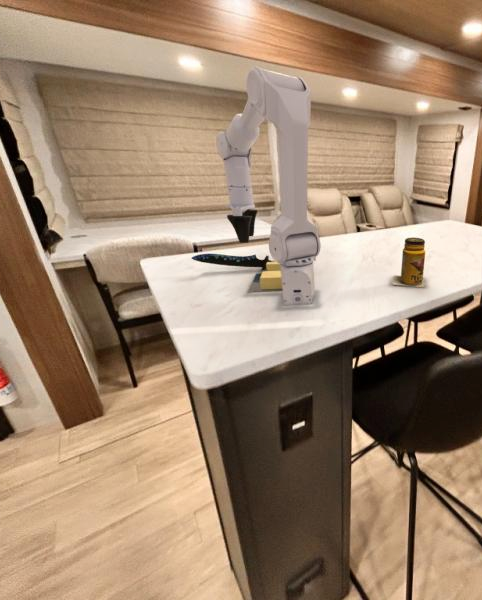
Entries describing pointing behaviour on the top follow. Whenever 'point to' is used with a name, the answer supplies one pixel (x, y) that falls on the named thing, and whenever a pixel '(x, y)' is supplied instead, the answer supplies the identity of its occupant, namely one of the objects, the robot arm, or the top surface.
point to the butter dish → (259, 286)
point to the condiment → (412, 264)
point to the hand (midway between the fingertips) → (247, 239)
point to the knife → (233, 260)
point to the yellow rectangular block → (271, 280)
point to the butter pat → (273, 266)
